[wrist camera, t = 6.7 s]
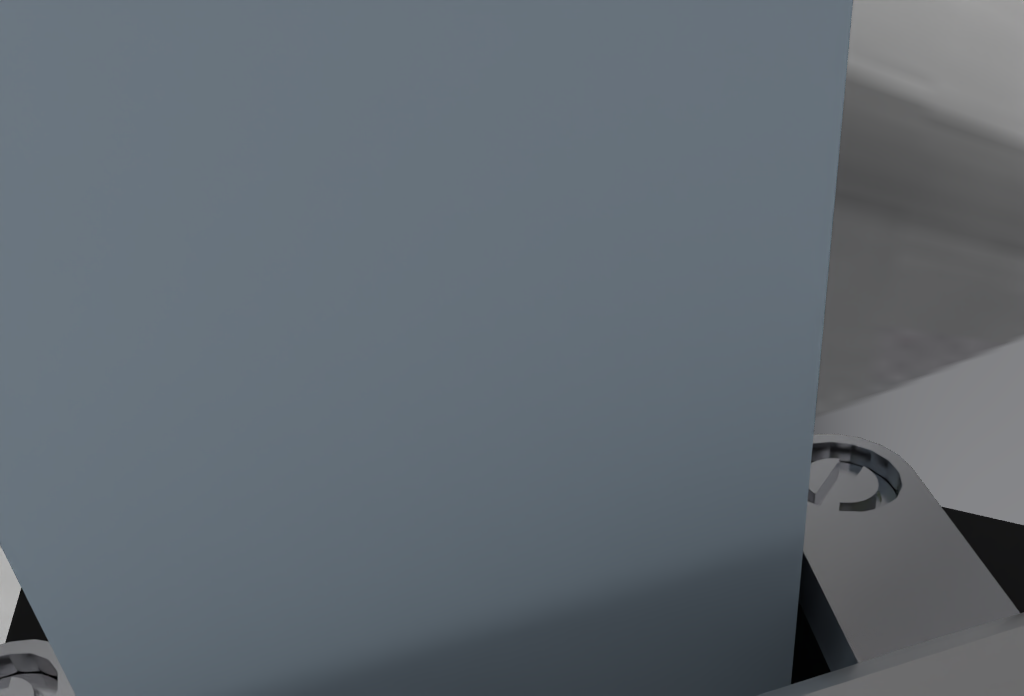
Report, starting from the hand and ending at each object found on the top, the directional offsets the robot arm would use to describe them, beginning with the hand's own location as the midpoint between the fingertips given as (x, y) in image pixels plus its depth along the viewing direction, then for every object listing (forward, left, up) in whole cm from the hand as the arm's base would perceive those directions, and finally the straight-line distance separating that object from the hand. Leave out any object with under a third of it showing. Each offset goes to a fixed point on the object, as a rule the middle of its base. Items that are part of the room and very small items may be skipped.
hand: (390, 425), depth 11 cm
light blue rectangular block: (0, 0, -1) cm, 1 cm away
